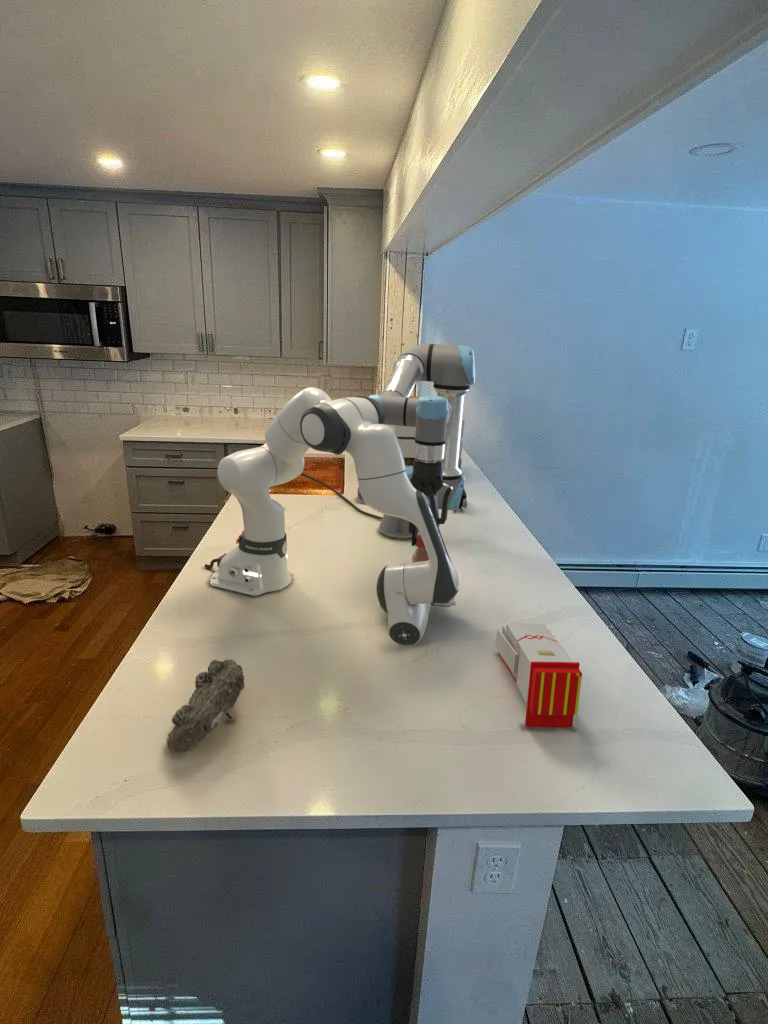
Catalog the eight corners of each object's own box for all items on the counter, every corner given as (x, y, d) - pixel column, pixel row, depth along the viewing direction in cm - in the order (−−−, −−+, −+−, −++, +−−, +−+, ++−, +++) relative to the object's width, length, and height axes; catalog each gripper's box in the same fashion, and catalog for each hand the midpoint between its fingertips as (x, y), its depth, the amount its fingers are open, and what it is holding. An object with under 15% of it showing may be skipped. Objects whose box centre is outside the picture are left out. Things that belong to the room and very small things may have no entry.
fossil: (192, 660, 117) (244, 628, 112) (224, 691, 120) (276, 661, 115) (142, 746, 98) (202, 712, 93) (182, 779, 101) (242, 748, 96)
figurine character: (467, 516, 223) (461, 500, 237) (469, 499, 220) (463, 483, 233) (450, 516, 223) (446, 499, 236) (452, 498, 220) (447, 483, 233)
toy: (542, 608, 134) (591, 669, 104) (537, 660, 136) (583, 734, 107) (491, 607, 133) (526, 668, 104) (487, 660, 136) (520, 733, 107)
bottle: (422, 594, 158) (426, 536, 152) (431, 602, 154) (436, 543, 148) (405, 597, 156) (409, 538, 150) (414, 606, 152) (419, 545, 146)
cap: (429, 542, 151) (430, 535, 151) (430, 548, 148) (430, 541, 147) (414, 541, 151) (415, 534, 151) (415, 547, 148) (415, 540, 147)
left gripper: (456, 595, 138) (459, 571, 151) (374, 585, 141) (384, 562, 154) (454, 618, 140) (457, 592, 153) (373, 607, 143) (383, 583, 156)
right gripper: (464, 459, 143) (456, 545, 151) (400, 452, 147) (395, 535, 155) (459, 466, 136) (451, 556, 144) (391, 458, 140) (387, 545, 148)
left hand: (420, 577), depth 154 cm, fingers closed on bottle, 5 cm apart
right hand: (422, 545), depth 149 cm, fingers closed on cap, 4 cm apart
